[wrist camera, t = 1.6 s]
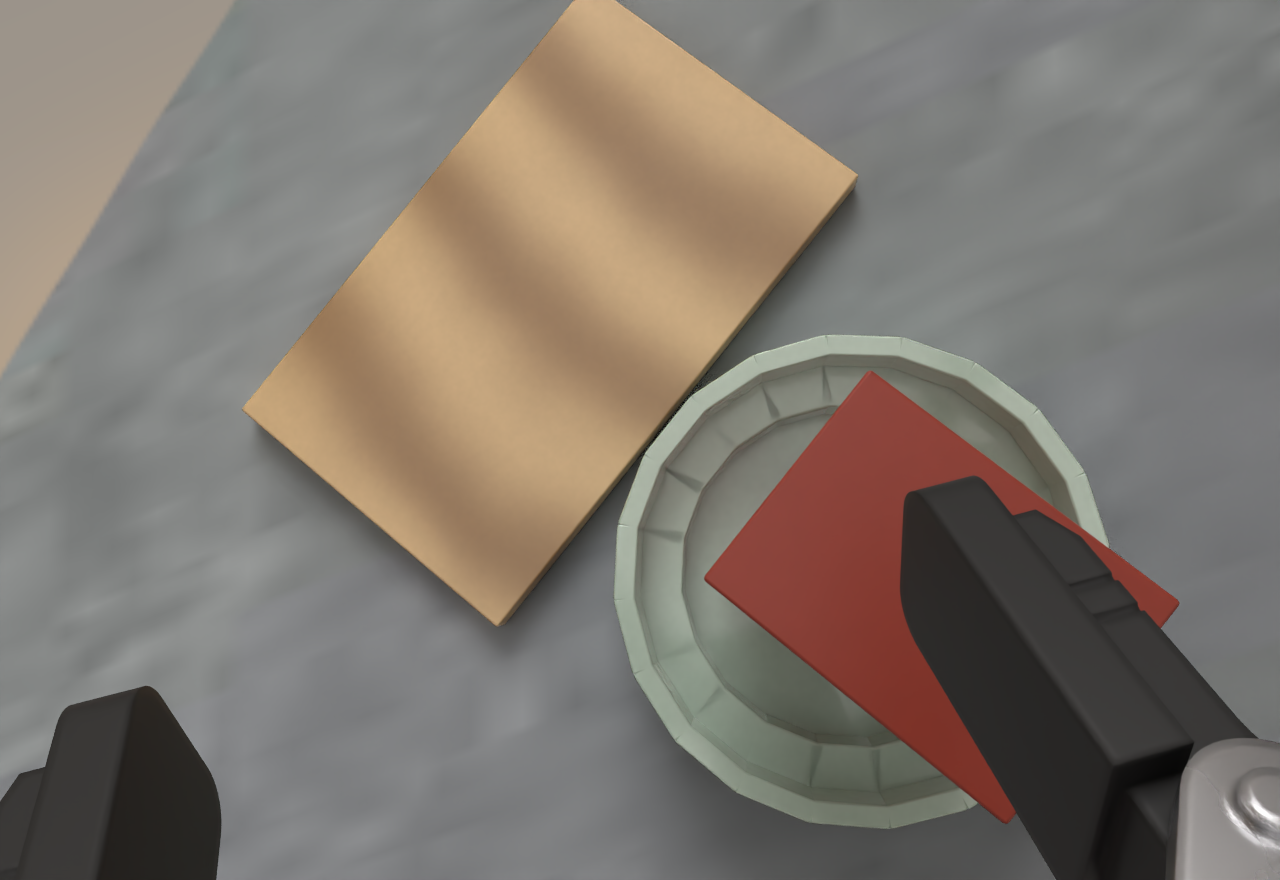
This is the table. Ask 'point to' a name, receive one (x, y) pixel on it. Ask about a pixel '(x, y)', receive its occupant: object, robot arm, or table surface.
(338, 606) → the table surface
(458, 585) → the board
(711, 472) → the bowl
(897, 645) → the red rectangular block
